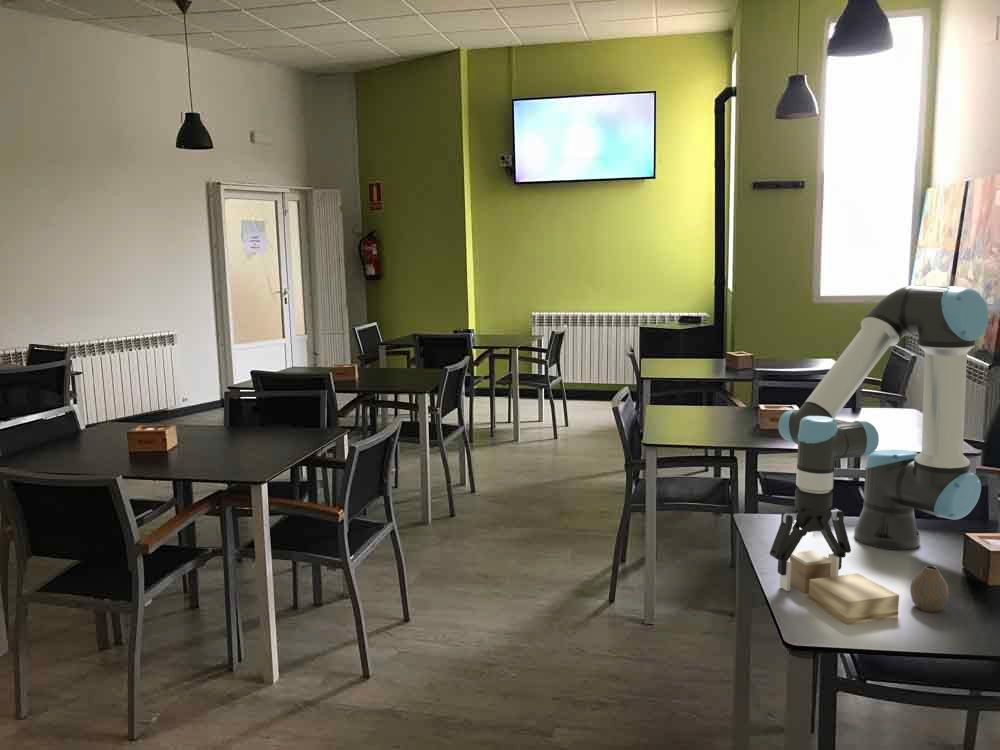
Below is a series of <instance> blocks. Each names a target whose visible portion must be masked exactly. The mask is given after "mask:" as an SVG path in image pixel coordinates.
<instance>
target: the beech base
mask: <svg viewBox="0 0 1000 750" xmlns="http://www.w3.org/2000/svg"><path fill="white" fill-rule="evenodd" d="M807 595H808V597H807V598H808V602H810V603H812V604H814V605H815V606H817V607H818V608H820V609H821V610H822V611H824V612H826V613H827V614H829V615H830V616H832V617H834V618H836V619H837V620H839V621H840V622H842V623H843V624H845V625H852V624H853V625H854V624H859V623H860V624H862V623H868V622H867V621H869V622H875V621H883V620H889V619H894V618H895V619H896V618H898V617H899V605H900V604H899V602H900V595H899V594H898V593H896V592H894V591H892V590H890V589H889V588H887V587H885V586H883V585H881V584H879V583H877V582H875V581H873V580H871V579H870V578H868V577H866V576H864V575H862V574H861V573H858V572H857V573H849V574H842V575H838V576H833V577H825V578H817V579H810V583H809V593H808V594H807ZM861 622H862V623H861Z"/></svg>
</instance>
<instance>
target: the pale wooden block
mask: <svg viewBox="0 0 1000 750" xmlns="http://www.w3.org/2000/svg"><path fill="white" fill-rule="evenodd" d="M789 561H791V578H790V586H792V587H794V588H796V590H799V591H800V592H802V594H804V595H805V594H806V595H809V583H810V579H817V578H825V577H830V571H831V560H830V559H829V558H828V557H827V556H825V555H823V554H821V553H820V552H819V551H816V550H814V549H813V550H807V551H806V550H804V551H793V553H792V554H791V556H790V558H789Z"/></svg>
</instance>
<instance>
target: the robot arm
mask: <svg viewBox="0 0 1000 750" xmlns="http://www.w3.org/2000/svg"><path fill="white" fill-rule="evenodd" d="M989 318H990V317H989V309H988V305H987V302H986V300H985V298H984V297H983V296H982V295H981V294H980V292H978V291H977V290H975V289H973V288H971V287H970V288H969V287H961V286H957V285H952V286H951V285H921V284H919V285H917V284H914V285H913V284H911V285H907V286H903V287H901V288H898V289H896V290H894V291H893V292H891V293H889V294H888V295H886V296H885V297H883V298H882V299H880V301H879V302H878V303H876V304H875V305H874V306H873V307H872V308H871V309H870V310H869V312H867V314H866V315H865V316H864V317H863V318H862V320H861V322H860V327H861V328H860V330H859V331H858V332H857V333H856V335H855V336H854V338H853V339H852V341H850V343H849V344H848V346H847V347H846V348H845V349H844V350H843V352H842V353H841V354H840V356H839V357H838V359H837V360H836V361H835V362H834V363H833V365H832V366H831V368H830V369H829V370H828V371H827V373H826V374H825V375H824V376H823V378H822V379H821V380H820V382H819V383H818V384H817V386H816V387H815V388H814V389H813V391H812V392H811V394H809V396H808V397H807V399H806V400H805V402H804V403H803V404H802V405H801V407H800V408H799V409H789V410H786V411H784V413H782V414H781V416H780V417H779V420H778V426H777V427H778V432H779V435H780V436H781V437H782V439H784V440H785V441H788V442H790V443H793V444H796V445H797V462H796V463H797V464H796V478H795V479H796V480H795V485H796V486H797V487H796V488H795V492H794V493H795V494H794V495H795V496H794V504H795V510H794V512H793V513H787V512H785V511H784V512H782V513H781V515H780V516H781V517H780V519H781V520H780V524H779V526H778V530H777V533H776V535H775V538H774V540H773V544H772V546H771V548H770V551H769V556H770V557H773V558H774V559H776V560H777V574H779V587H780V588H781V589H783V590H785V591H786V592H789V591H791V584H790V578H791V561H790V556H791V554H792V553H793V552H795V550H796V548H797V547H798V546H799V544H800V543H801V542H800V541H801V540H802V539H803V537H805V536H806V535H807V533H812V532H820V533H821V534H822V537H823V538H824V540H825V542H826V543H827V545H828V547H829V548H830V550H831V552H828V557H827V558H829V559H830V560H831V571H830V577H833V576H839V570H841V569H842V564H843V563H842V562H843V561H842V559H843V558H845V557H846V556H847V555H846V554H847V553H849V554H850V553H851V552H852V548H851V545H850V541H849V536H848V533H847V530H846V527H845V522H844V520H845V519H844V518H845V512H844V511H842V510H839V509H837V508H836V507H835V508H833V509H832V507H833V500H834V499H833V496H834V492H833V491H832V490H833V489H834V484H835V483H834V481H835V480H834V479H835V465H836V463H835V461H836V460H840V459H841V460H842V459H849V458H854V457H855V458H856V457H857V458H861V457H862V456H867V457H866V463H865V468H864V469H865V470H864V471H865V472H864V492H863V493H864V494H863V505H862V506H863V507H862V510H861V513H860V514H859V517H858V520H857V523H856V524H855V526H854V533H853V536H854V538H855V539H856V540H857V541H858V542H860V543H862V544H865V545H868V546H872V547H875V548H879V549H880V548H881V549H886V550H897V551H898V550H904V551H905V550H913V549H915V548H918V547H920V545H921V544H920V542H921V535H920V534H921V533H920V532H919V528H918V524H917V521H916V516H915V510H918V511H920V512H921V511H922V512H924V513H927V514H930V515H933V516H936V517H937V518H944V519H948V520H953V521H954V520H961V519H963V518H964V517H966V516H967V515H969V514H970V513H971V511H973V509H974V508H975V506H976V505H977V503H978V501H979V499H980V497H981V496H980V495H981V492H982V484H981V483H982V482H981V480H980V479H979V477H978V475H976V474H974V473H973V472H971V471H970V470H971V469H970V468H971V461H970V459H968V458H967V457H966V456H965V455H964V435H965V434H964V433H965V413H966V412H965V409H966V389H967V388H966V385H967V362H968V361H967V359H968V358H967V357H968V353H969V352H970V351H971V350H972V349H973V348H975V346H976V340H978V339H980V338H981V337H983V336H984V334H985V332H986V329H987V328H988V324H989ZM908 335H909V336H910V335H913V336H917V346H918V347H919V348H920V349H921V350H922V351H923V352H924V367H923V368H924V369H923V370H924V372H923V398H922V399H923V401H922V404H923V405H922V427H921V428H922V430H921V431H922V436H921V451H920V452H919V453H918V452H916V451H914V450H908V449H881V450H880V449H879V450H876V449H877V448H878V446H879V441H880V440H879V439H880V438H879V433H878V431H877V429H876V427H875V426H874V425H873V424H872V423H871V422H869V421H865V420H864V421H862V420H861V421H859V420H855V421H845V420H841V419H836V418H837V416H838V415H839V413H840V412H841V410H843V408H844V407H845V406H846V404H847V403H848V402H849V400H850V399H851V397H852V396H853V395H854V393H856V391H857V390H858V388H859V387H860V386H861V384H862V383H863V382H864V381H865V379H866V378H867V377H868V375H869V374H870V372H872V370H873V369H874V367H875V366H876V365H877V364H878V362H879V361H880V360H881V358H882V357H883V356H884V354H885V353H886V352H887V350H888V349H889V348H890V347H894V346H896V345H898V343H899V342H900V341H901V340H902V339H903V337H906V336H908ZM829 520H831V521H832V522H831V523H832V526H833V529H834V533H835V535H834V533H833V532H832V531H833V530H832V528H831V526H830V525H829Z"/></svg>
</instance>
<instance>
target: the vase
mask: <svg viewBox="0 0 1000 750" xmlns="http://www.w3.org/2000/svg"><path fill="white" fill-rule="evenodd" d="M910 598H911V600H912V602H913V603H914V605H915V606H916V607H917V608H918V609H919V610H921V611H924V612H928V613H937V612H939V611H941V610H942V609H944V608H945V606H946V605H947V602H948V600H949V587H948V584H947V582H946V580H945V577H943V575H942V574H941V573H940V571H939V569H938V567H936V566H935V565H929V564H928V565H924V566H923V568H922V570H920V572H918V573H917V574H916V575H915V576H914V578H913V579H912V582H911V585H910Z"/></svg>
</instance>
